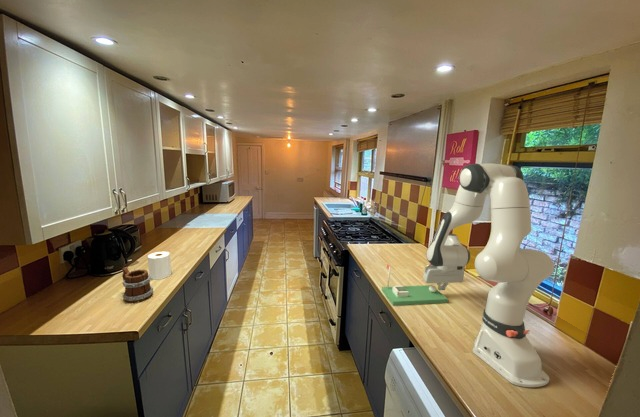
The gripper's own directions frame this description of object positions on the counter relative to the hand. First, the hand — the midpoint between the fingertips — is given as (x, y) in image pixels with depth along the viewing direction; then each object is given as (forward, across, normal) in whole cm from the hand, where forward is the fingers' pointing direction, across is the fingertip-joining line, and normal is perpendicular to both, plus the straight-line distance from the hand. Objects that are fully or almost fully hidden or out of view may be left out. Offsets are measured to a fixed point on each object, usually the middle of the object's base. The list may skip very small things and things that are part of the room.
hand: (441, 289), depth 133 cm
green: (+3, -15, 0) cm, 15 cm away
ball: (-1, -5, 0) cm, 5 cm away
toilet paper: (+3, -147, +32) cm, 151 cm away
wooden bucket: (+3, -149, +10) cm, 149 cm away
